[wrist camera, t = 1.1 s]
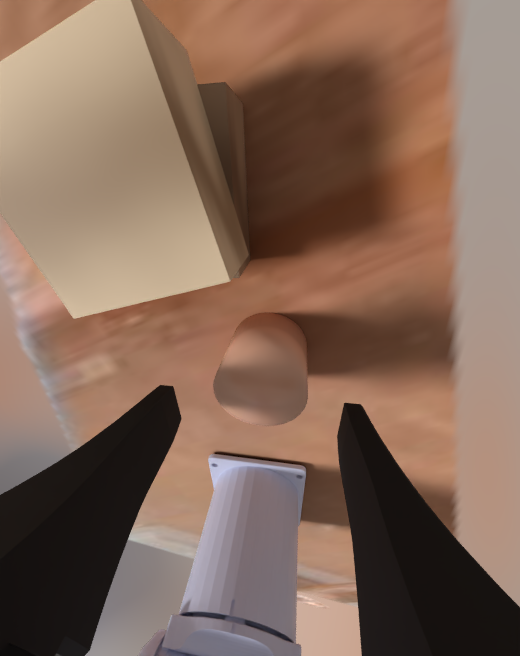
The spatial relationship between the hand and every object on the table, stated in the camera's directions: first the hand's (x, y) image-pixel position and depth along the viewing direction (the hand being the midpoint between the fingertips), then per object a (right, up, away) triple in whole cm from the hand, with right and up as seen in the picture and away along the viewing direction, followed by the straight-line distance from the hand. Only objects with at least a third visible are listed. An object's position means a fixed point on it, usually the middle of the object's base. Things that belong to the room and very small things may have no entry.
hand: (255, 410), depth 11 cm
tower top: (-4, +8, -1) cm, 9 cm away
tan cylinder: (+1, +2, +4) cm, 5 cm away
